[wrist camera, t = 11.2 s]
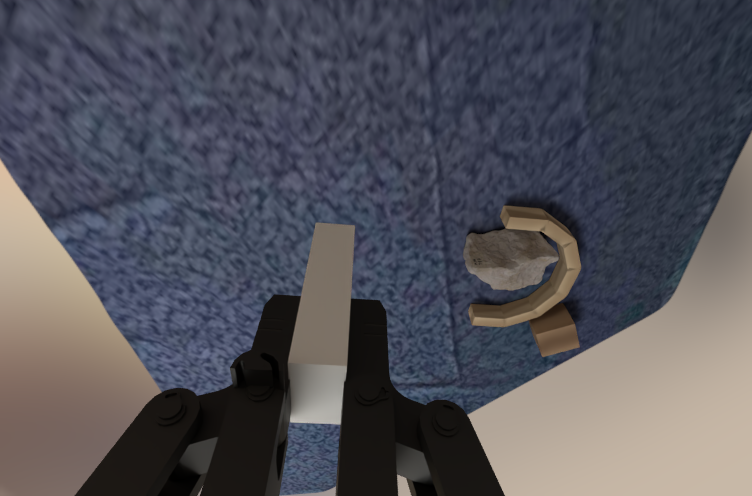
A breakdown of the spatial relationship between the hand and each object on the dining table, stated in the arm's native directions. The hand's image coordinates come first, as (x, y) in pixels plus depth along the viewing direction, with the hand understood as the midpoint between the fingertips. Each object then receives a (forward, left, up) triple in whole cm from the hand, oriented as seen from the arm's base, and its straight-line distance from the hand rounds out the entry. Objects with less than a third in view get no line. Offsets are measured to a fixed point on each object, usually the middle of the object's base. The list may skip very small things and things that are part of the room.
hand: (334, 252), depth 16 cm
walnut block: (+29, +29, -27) cm, 49 cm away
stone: (+17, +19, -27) cm, 37 cm away
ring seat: (+20, +23, -26) cm, 40 cm away
